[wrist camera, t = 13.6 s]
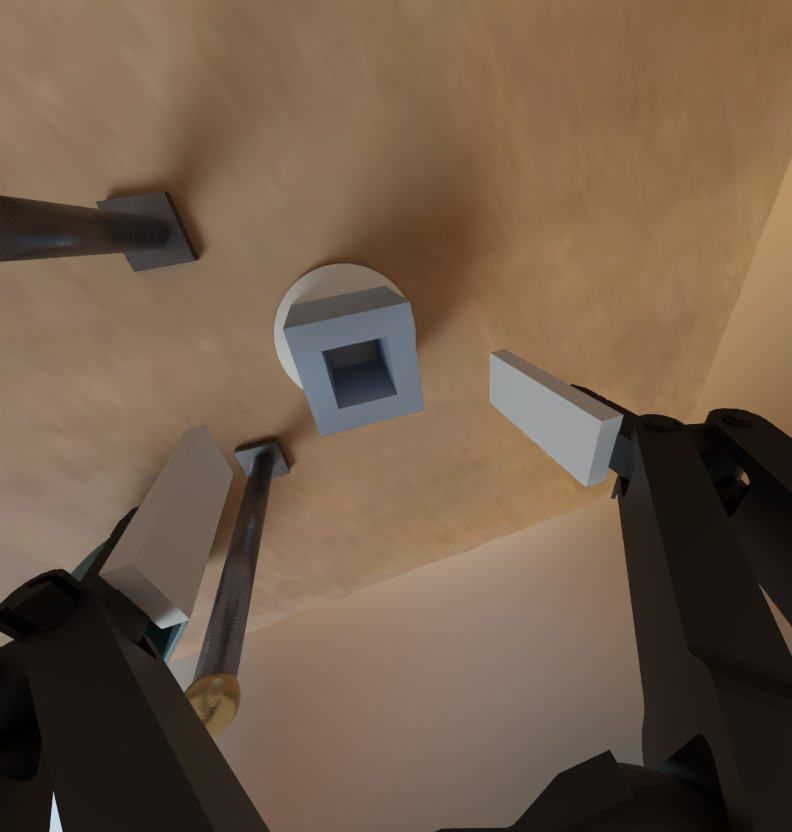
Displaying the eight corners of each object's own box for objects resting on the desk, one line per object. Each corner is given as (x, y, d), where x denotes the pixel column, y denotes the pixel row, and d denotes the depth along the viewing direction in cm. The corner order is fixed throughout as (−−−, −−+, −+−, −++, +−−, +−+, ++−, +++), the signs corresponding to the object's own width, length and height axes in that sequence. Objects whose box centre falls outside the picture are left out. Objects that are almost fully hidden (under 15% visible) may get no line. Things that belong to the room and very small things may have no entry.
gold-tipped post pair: (252, 478, 29) (177, 771, 13) (103, 203, 18) (-1732, -108, 2) (290, 467, 30) (263, 739, 14) (168, 192, 18) (-864, -135, 2)
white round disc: (301, 413, 27) (301, 417, 27) (251, 279, 21) (249, 280, 21) (420, 384, 28) (422, 386, 28) (404, 249, 23) (406, 250, 22)
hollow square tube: (318, 391, 26) (320, 436, 20) (290, 305, 22) (282, 329, 16) (399, 371, 27) (423, 409, 21) (385, 285, 23) (410, 301, 17)
